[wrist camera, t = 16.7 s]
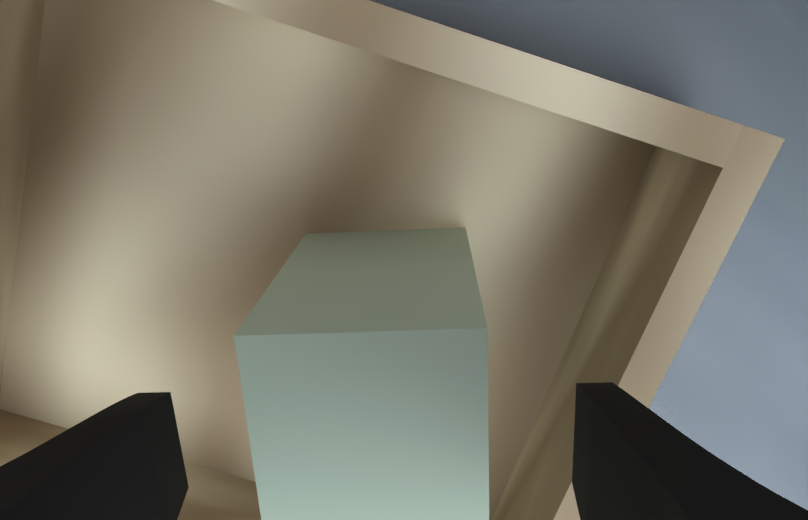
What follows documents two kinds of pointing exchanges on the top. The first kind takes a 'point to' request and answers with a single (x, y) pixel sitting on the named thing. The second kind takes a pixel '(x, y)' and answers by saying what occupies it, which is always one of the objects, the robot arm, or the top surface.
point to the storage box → (336, 213)
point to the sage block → (369, 380)
